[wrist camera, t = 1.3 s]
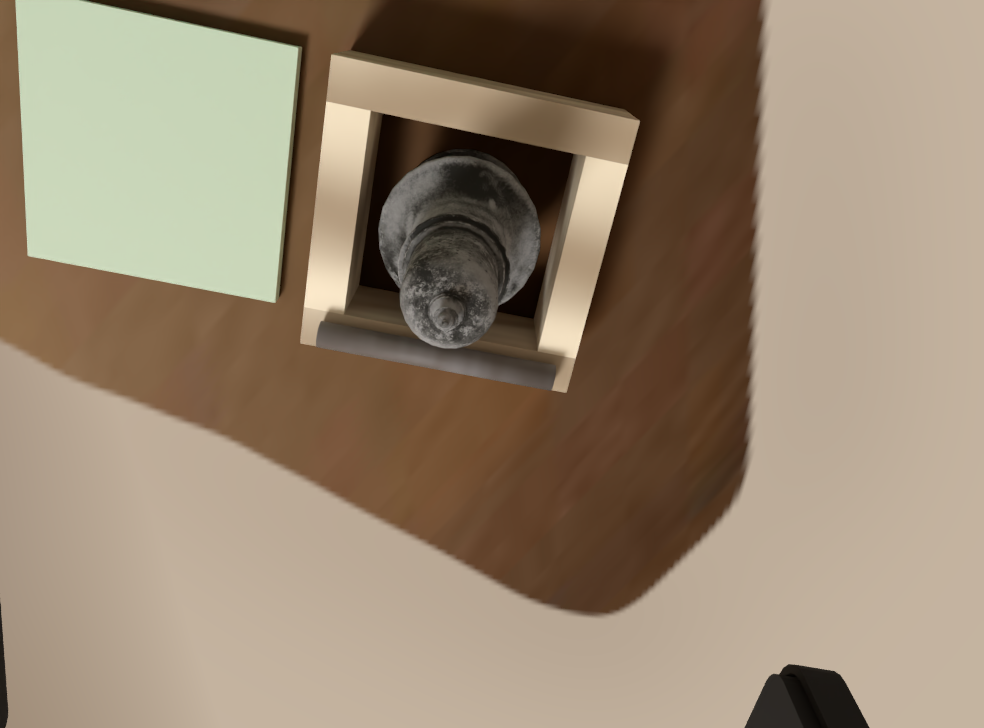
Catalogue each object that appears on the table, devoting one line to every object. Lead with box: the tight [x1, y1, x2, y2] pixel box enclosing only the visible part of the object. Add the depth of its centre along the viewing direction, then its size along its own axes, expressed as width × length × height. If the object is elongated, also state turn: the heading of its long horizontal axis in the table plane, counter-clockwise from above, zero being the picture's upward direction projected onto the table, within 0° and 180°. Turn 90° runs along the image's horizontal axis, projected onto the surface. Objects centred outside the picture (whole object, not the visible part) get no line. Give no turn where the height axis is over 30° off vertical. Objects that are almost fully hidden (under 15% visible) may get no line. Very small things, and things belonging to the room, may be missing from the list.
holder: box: [300, 50, 640, 393], centre depth 29 cm, size 10×10×4 cm
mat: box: [16, 0, 302, 303], centre depth 30 cm, size 10×10×1 cm
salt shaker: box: [378, 149, 541, 349], centre depth 25 cm, size 6×6×12 cm
